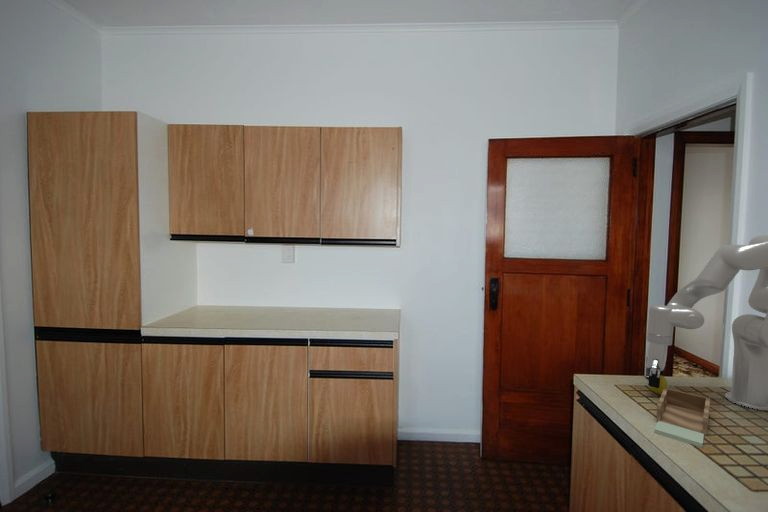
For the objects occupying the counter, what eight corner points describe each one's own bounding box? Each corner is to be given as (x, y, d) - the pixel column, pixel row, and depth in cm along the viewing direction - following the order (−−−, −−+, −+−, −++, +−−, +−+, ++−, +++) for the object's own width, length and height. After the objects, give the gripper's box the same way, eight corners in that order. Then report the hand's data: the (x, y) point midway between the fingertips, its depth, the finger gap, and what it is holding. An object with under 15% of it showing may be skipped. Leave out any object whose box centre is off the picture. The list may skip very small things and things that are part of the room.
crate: (663, 403, 128) (664, 387, 128) (709, 415, 120) (710, 398, 120) (656, 423, 115) (657, 404, 115) (706, 437, 107) (707, 418, 107)
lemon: (669, 398, 133) (671, 377, 132) (652, 396, 134) (654, 375, 133) (661, 391, 138) (662, 371, 138) (645, 390, 139) (646, 370, 139)
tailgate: (658, 420, 114) (654, 429, 109) (704, 433, 107) (702, 443, 101) (658, 425, 114) (654, 433, 109) (703, 438, 107) (702, 448, 101)
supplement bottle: (661, 377, 152) (662, 351, 151) (665, 383, 146) (666, 355, 146) (644, 375, 154) (645, 349, 153) (647, 380, 149) (648, 353, 148)
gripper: (650, 332, 144) (647, 374, 145) (643, 340, 131) (639, 386, 132) (674, 336, 139) (670, 379, 140) (669, 345, 126) (665, 393, 127)
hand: (655, 383), depth 136 cm, fingers open, 9 cm apart
